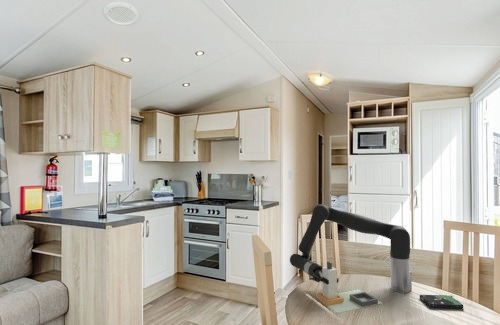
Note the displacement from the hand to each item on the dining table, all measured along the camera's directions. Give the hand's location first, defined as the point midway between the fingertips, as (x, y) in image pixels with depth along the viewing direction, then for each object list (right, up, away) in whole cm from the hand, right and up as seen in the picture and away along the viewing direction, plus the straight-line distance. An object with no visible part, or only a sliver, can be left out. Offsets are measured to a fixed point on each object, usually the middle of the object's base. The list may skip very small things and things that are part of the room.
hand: (333, 281), depth 143 cm
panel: (+8, -11, +2) cm, 14 cm away
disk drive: (+51, -11, -2) cm, 52 cm away
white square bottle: (-1, -9, +2) cm, 9 cm away
